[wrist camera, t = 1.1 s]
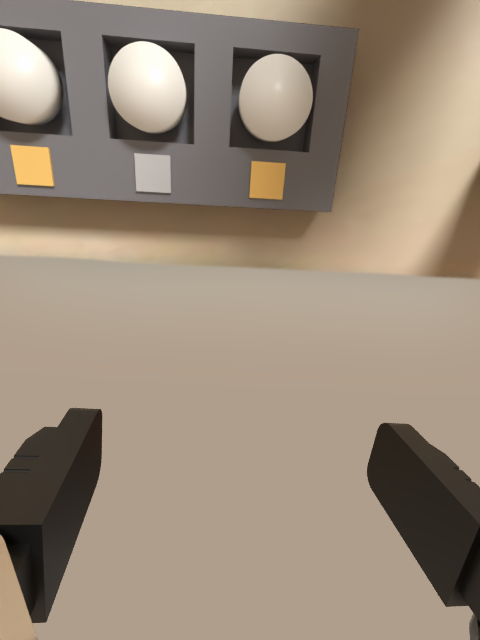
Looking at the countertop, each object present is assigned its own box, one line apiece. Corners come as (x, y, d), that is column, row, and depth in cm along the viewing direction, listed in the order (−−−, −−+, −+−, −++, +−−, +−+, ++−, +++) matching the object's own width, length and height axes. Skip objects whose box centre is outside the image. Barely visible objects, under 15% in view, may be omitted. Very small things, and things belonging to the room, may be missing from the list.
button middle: (119, 131, 23) (111, 128, 22) (114, 49, 22) (104, 37, 20) (187, 136, 24) (185, 133, 22) (187, 55, 22) (184, 44, 20)
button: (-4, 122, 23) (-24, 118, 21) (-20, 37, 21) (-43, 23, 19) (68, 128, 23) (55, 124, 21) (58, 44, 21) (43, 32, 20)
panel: (-11, 189, 26) (-40, 191, 23) (-49, 8, 22) (-89, -18, 19) (319, 208, 28) (331, 212, 26) (342, 45, 24) (360, 27, 21)
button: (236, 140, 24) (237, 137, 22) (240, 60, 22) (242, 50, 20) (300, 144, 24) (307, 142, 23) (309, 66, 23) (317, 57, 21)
